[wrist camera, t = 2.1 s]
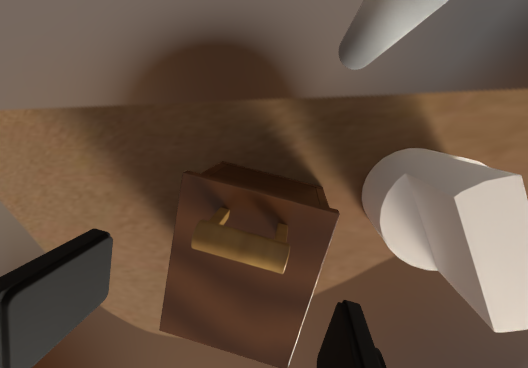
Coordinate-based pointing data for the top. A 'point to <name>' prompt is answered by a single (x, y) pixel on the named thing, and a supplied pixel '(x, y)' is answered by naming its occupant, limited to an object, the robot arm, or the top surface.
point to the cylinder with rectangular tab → (456, 227)
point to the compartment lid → (243, 267)
